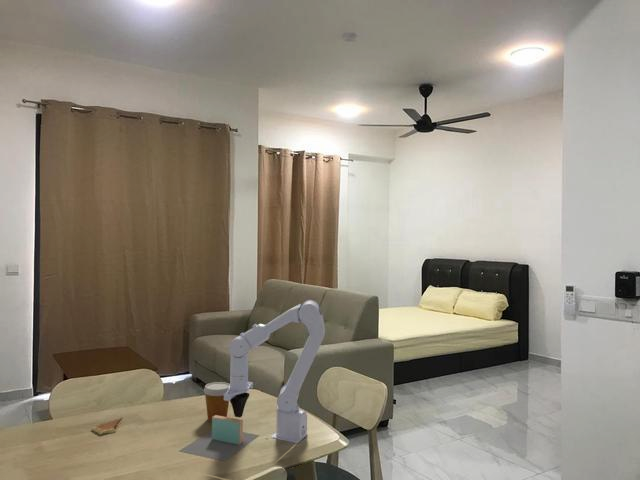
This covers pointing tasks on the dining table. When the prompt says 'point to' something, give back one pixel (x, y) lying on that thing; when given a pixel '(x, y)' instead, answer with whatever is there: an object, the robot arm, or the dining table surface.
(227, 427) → the terracotta tile
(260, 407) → the dining table surface
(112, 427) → the pizza slice
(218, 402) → the disposable coffee cup
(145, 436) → the dining table surface
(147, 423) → the dining table surface
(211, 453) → the rubber mat
